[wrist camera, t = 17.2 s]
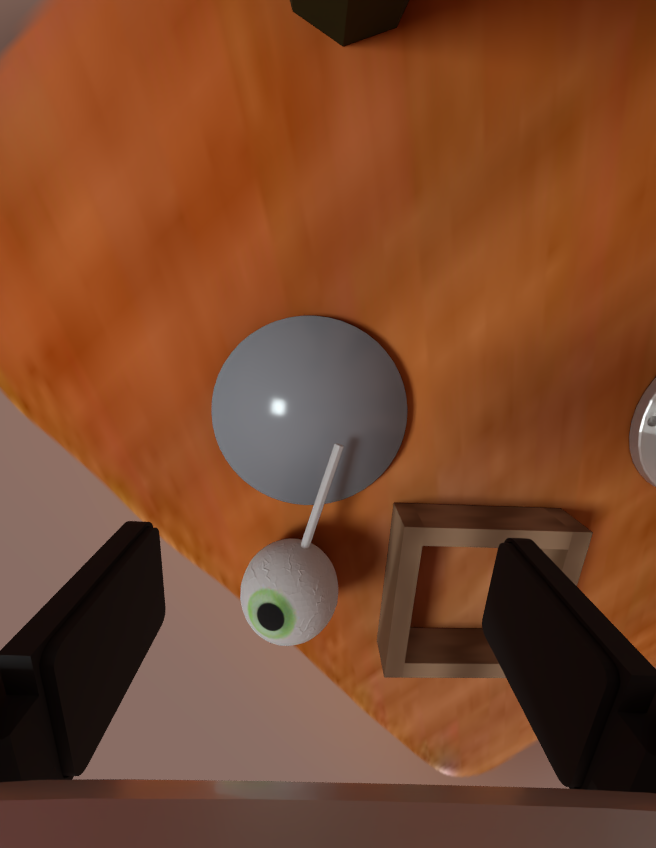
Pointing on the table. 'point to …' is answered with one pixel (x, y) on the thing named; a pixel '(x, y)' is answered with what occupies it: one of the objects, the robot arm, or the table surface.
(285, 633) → the eyeball on stick
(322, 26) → the wine bottle
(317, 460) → the gray round disc
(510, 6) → the table surface
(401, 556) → the frame
